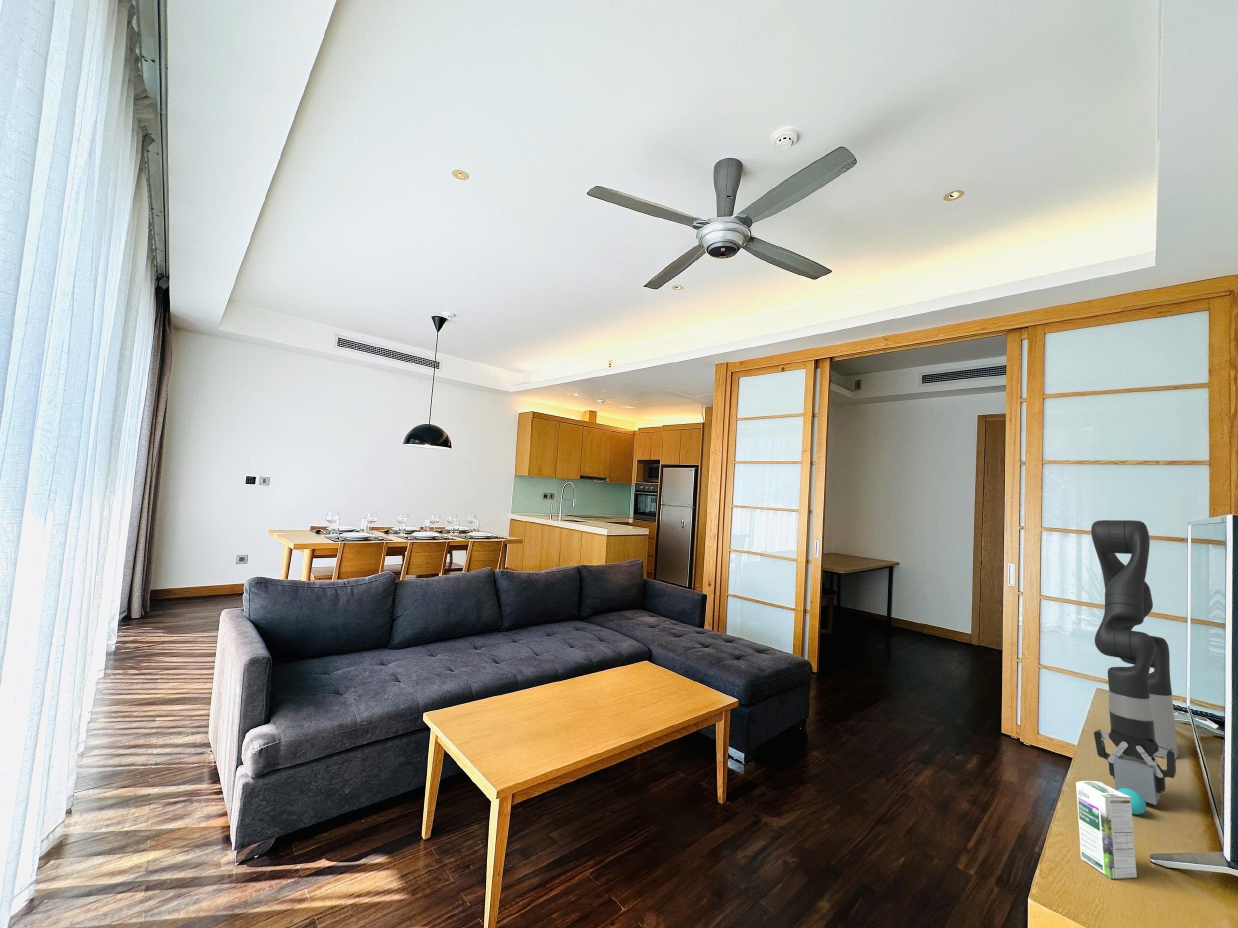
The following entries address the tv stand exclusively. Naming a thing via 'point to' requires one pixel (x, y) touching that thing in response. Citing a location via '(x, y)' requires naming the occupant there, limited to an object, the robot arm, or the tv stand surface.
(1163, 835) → the tv stand surface
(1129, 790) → the ball
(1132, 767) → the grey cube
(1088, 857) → the syrup box
